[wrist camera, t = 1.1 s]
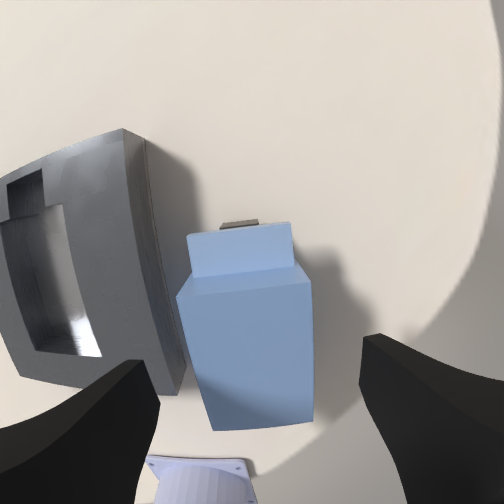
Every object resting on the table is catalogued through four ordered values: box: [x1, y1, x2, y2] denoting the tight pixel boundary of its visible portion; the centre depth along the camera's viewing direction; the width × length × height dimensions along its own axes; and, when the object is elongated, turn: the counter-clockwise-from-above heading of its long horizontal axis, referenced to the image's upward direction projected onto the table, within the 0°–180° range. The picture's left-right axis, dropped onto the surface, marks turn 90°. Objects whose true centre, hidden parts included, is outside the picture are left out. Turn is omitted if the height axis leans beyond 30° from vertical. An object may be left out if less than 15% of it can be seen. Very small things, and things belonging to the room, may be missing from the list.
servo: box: [176, 219, 314, 431], centre depth 11 cm, size 9×4×5 cm, turn 7°
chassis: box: [0, 128, 186, 396], centre depth 12 cm, size 12×12×2 cm
